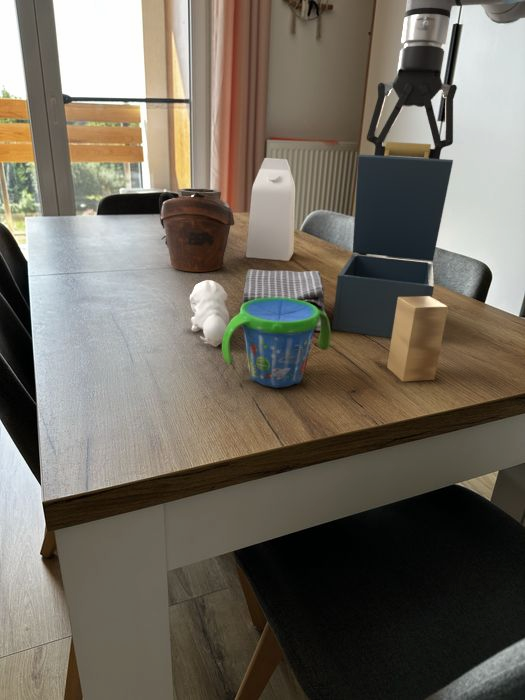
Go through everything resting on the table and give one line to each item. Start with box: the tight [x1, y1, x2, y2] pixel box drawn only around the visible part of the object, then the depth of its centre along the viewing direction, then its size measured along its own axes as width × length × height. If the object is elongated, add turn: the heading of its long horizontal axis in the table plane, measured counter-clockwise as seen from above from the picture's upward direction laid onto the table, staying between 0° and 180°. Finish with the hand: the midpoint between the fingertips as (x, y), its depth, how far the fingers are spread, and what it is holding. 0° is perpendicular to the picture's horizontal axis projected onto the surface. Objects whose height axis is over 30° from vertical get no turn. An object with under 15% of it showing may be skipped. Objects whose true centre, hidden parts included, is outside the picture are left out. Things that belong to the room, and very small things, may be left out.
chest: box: [331, 253, 435, 339], centre depth 96 cm, size 20×16×10 cm
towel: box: [241, 268, 328, 332], centre depth 96 cm, size 15×18×8 cm
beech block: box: [386, 296, 449, 383], centre depth 73 cm, size 5×5×11 cm
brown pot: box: [159, 193, 235, 273], centre depth 127 cm, size 18×20×18 cm
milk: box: [245, 157, 296, 262], centre depth 143 cm, size 12×12×26 cm
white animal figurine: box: [189, 279, 230, 348], centre depth 83 cm, size 6×8×12 cm
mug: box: [158, 187, 222, 230], centre depth 162 cm, size 20×14×15 cm
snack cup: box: [221, 297, 332, 389], centre depth 70 cm, size 16×10×10 cm
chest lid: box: [352, 141, 454, 262], centre depth 98 cm, size 21×16×10 cm
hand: (402, 183), depth 98 cm, fingers closed on chest lid, 8 cm apart
